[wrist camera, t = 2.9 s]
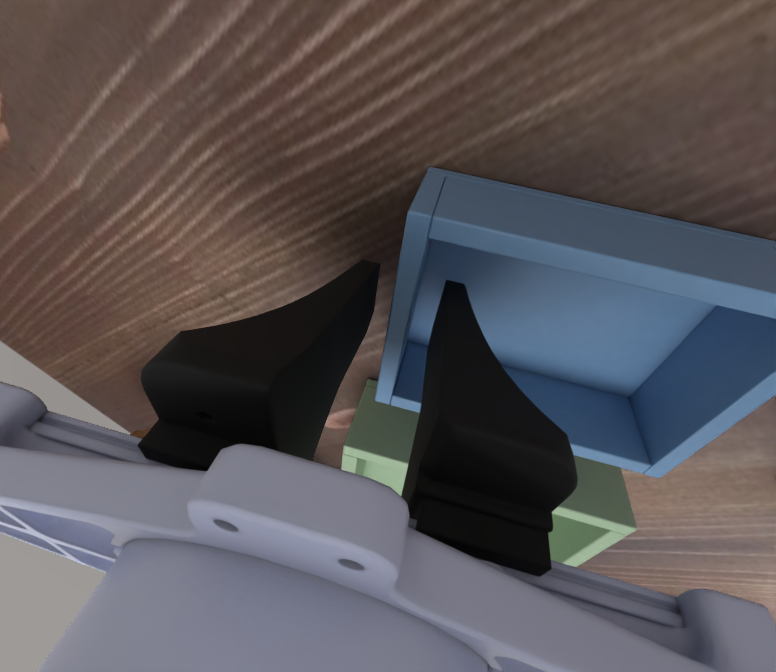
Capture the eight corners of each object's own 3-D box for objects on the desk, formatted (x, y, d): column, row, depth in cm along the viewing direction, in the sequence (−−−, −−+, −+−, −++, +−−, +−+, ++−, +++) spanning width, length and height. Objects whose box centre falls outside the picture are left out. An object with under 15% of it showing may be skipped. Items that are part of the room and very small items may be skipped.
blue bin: (784, 242, 10) (883, 318, 8) (631, 400, 15) (659, 479, 13) (429, 165, 11) (407, 210, 9) (394, 339, 16) (374, 401, 14)
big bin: (367, 378, 18) (342, 445, 15) (615, 444, 17) (638, 529, 14) (349, 503, 29) (332, 557, 26) (504, 548, 28) (504, 611, 25)
